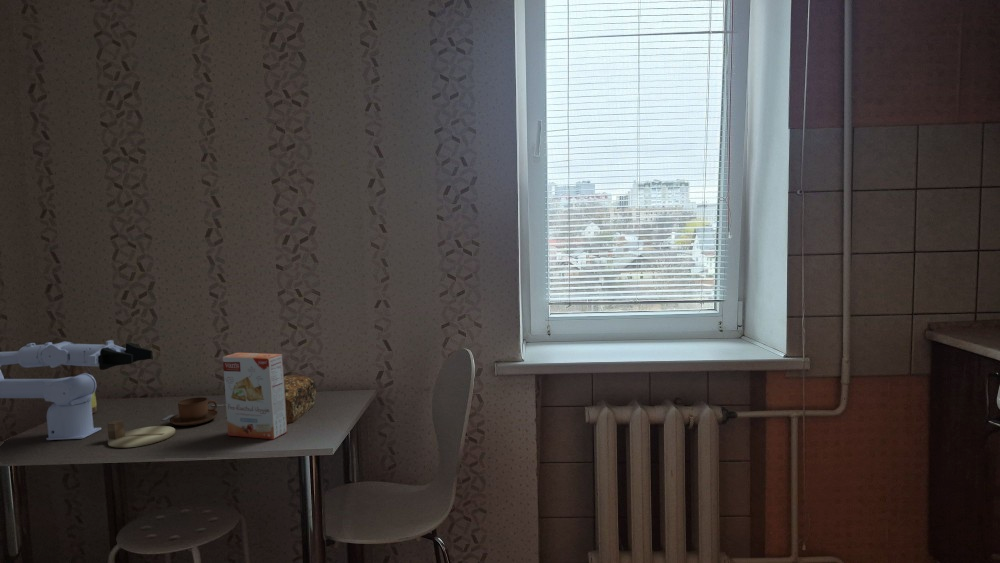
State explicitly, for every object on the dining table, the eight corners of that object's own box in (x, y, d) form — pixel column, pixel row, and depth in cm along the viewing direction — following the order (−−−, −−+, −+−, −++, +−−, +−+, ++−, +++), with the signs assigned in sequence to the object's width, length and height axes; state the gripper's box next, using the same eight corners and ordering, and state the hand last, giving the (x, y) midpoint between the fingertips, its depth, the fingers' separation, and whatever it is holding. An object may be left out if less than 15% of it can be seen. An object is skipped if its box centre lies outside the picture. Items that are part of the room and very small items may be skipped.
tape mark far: (211, 406, 184) (211, 405, 184) (212, 405, 185) (212, 405, 185) (227, 405, 184) (227, 405, 184) (228, 404, 185) (228, 404, 185)
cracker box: (226, 437, 154) (220, 356, 153) (243, 429, 160) (237, 351, 158) (273, 440, 150) (267, 357, 149) (288, 432, 156) (283, 352, 154)
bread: (284, 405, 183) (282, 373, 182) (318, 405, 182) (316, 372, 181) (256, 425, 164) (253, 388, 163) (294, 424, 164) (292, 388, 163)
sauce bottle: (102, 410, 184) (96, 346, 182) (86, 417, 177) (80, 350, 176) (82, 411, 184) (76, 346, 183) (65, 417, 178) (59, 350, 177)
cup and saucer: (201, 414, 177) (200, 393, 177) (227, 419, 171) (225, 397, 170) (160, 425, 167) (159, 404, 166) (186, 431, 161) (184, 408, 160)
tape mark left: (161, 420, 171) (161, 419, 171) (170, 415, 176) (170, 414, 176) (165, 420, 171) (165, 419, 171) (174, 415, 176) (174, 414, 176)
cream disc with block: (94, 448, 148) (92, 430, 148) (130, 429, 163) (129, 412, 163) (155, 446, 148) (154, 428, 148) (186, 427, 163) (185, 410, 163)
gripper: (71, 343, 151) (123, 345, 150) (112, 336, 166) (159, 338, 165) (71, 371, 151) (123, 373, 150) (111, 362, 166) (159, 364, 165)
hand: (142, 356), depth 158 cm, fingers open, 7 cm apart
